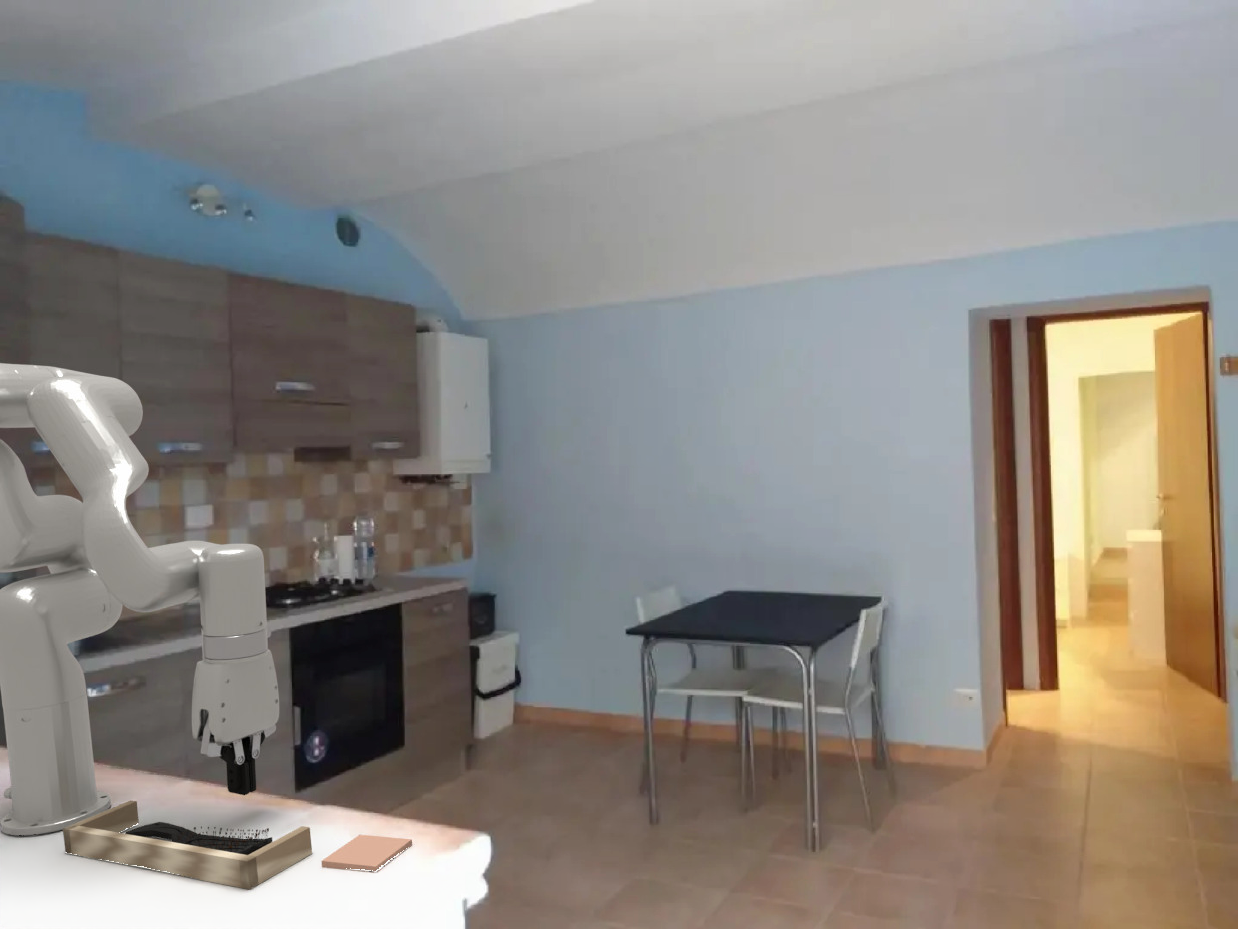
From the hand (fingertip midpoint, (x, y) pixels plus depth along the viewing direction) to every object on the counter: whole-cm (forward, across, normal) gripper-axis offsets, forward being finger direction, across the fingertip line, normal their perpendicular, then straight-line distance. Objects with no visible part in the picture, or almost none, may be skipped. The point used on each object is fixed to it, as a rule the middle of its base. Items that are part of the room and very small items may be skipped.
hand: (242, 791), depth 123 cm
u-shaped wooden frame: (+4, +9, +1) cm, 10 cm away
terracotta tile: (+3, +3, +23) cm, 23 cm away
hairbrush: (+5, +8, 0) cm, 9 cm away
